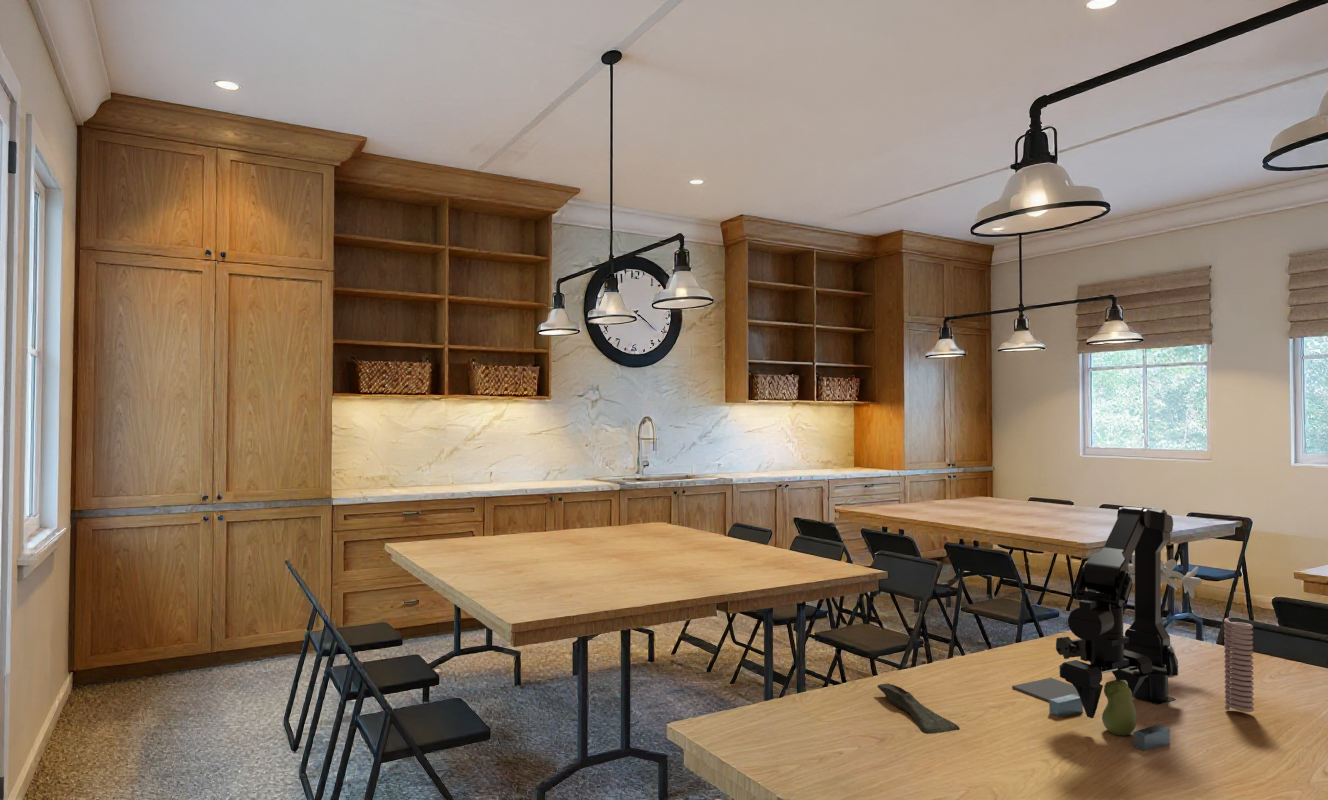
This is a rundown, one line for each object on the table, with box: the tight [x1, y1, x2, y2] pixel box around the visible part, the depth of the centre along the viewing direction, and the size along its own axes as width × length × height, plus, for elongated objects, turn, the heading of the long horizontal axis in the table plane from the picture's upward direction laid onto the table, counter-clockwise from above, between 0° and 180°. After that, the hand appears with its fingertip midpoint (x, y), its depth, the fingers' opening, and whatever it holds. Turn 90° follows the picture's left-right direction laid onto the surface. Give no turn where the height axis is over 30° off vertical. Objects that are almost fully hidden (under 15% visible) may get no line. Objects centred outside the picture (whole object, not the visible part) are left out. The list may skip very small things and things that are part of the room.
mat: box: [1011, 677, 1079, 703], centre depth 167 cm, size 12×10×1 cm
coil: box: [1223, 617, 1255, 713], centre depth 156 cm, size 5×5×18 cm
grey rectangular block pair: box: [1048, 694, 1171, 752], centre depth 147 cm, size 7×19×3 cm, turn 25°
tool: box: [876, 683, 960, 735], centre depth 154 cm, size 21×8×3 cm, turn 18°
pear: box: [1101, 679, 1137, 737], centre depth 145 cm, size 6×5×10 cm
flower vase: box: [1128, 554, 1202, 654], centre depth 186 cm, size 13×18×25 cm
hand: (1106, 713), depth 147 cm, fingers open, 9 cm apart
